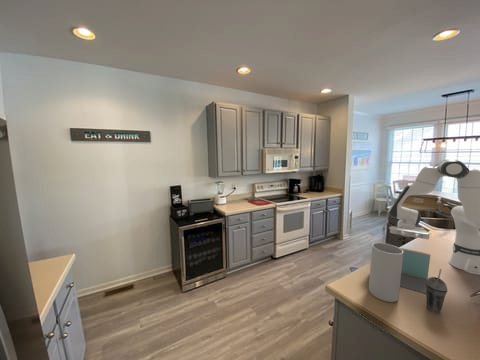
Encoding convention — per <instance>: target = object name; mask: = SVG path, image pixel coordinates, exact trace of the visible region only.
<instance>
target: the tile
mask: <svg viewBox="0 0 480 360" xmlns="http://www.w3.org/2000/svg"><path fill="white" fill-rule="evenodd" d="M397 247H398V246H397ZM398 248H400V249H402V250H403V260H402V269H401V273H403V274H407V275H411V276H415V277H419V278H423V279H428V278H429V268H430V263H431V262H430V261H431V254H430V253H428V252H423V251H418V250H413V249H408V248H403V247H398Z"/></svg>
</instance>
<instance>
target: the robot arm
mask: <svg viewBox="0 0 480 360" xmlns="http://www.w3.org/2000/svg"><path fill="white" fill-rule="evenodd" d="M443 177H449V178H454V179H456V182H457V186H456V187H457V198H458V201H459V202H460V203H461V205H456V206H453V208H452V209H451V210H450V215H451V217H452V218H453V221H454V226H455V237H454V242H453V245H452V254H451V257H450V259H449V260H448V264H449V265H451V266H452V267H454V268H457V269H459V270H461V271H463V272H466V273H467V274H471V275H477V276H480V170H479V169H476V168H469V167H468V166H467V165H466V164H465V163H464V162H462V161H460V160H458V159H453V158H450V159H445V160H442V161H440V162H439V163H437V164H435V165H434V166H431V165H428V166H424V167H423V168H421V170H420V171H419V173H418V174H417V176H416V178H415V180H414V182H412V183H411V184H409V185H406V186H404V188H403V189H402V191H401V192H400V193H399V195H398V196H397V198H395V200H394V202H393V203H392V204H391V206H390V207H389V208H388V209H387V213H388V215H389V216H390V217H391V218H393V219H398V221H397V224H396V225H397V226H396V225H395V226H394V225H391V226H388V229H389V230H390V231H389V233H390V234H394V235H399V236H403V237H411V238H413V239H423V240H430V233H429V231H427V230H425V228H424V227H422V226H418V225H420V222H421V220H422V215H421V213H420V212H419V210H416V209H412V208H408V207H405V206H402V204H403V203H404V201H405V200H406V199H407V198H408V197H409V196H419V195H421V196H422V195H428V194H431V193H432V192H433V191H434V190H435V188H436V187H437V185H438V182H439V180H440V179H441V178H443Z"/></svg>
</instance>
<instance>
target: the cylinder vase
mask: <svg viewBox="0 0 480 360" xmlns="http://www.w3.org/2000/svg"><path fill="white" fill-rule="evenodd" d="M400 248H401V247H399V248H398V246H395V245H394V244H393V245H392V244H391V243H390V244H389V243H384V242H373V243H372V244H371V255H370V256H371V257H370V268H369V281H368V291H369V293H370V294H371V295H372V296H373V297H375V298H376V299H379V300H381V301H384V302H387V303H396V302H397V301H398V300H399V297H400V279H401V269H402V260H403V250H402V249H400Z"/></svg>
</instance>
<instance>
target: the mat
mask: <svg viewBox="0 0 480 360" xmlns="http://www.w3.org/2000/svg"><path fill="white" fill-rule="evenodd" d="M426 281H427V279H424V278H420V277H416V276H412V275H408V274H404V273H401V279H400V287H402V288H404V289H408V290H412V291H415V292H418V293H423V294H425V295H426V284H425V283H426Z"/></svg>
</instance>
